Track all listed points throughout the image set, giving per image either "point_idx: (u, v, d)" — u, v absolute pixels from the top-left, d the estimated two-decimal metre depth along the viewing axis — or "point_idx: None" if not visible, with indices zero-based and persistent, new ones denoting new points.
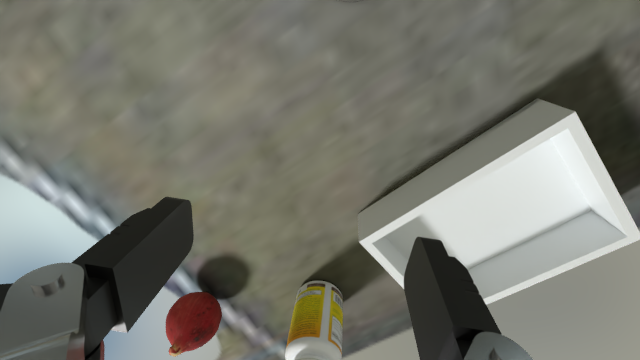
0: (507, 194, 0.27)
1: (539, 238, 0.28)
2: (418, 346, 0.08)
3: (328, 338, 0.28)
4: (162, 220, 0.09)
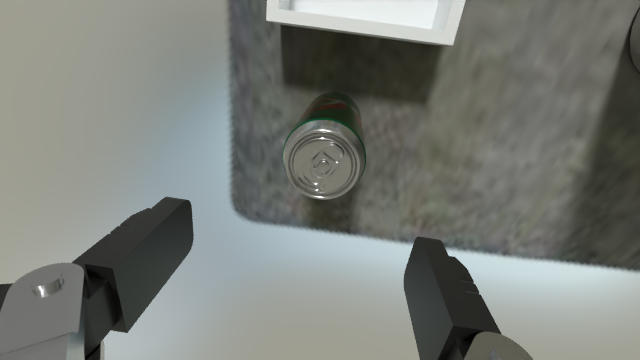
0: None
1: None
2: (418, 346, 0.08)
3: None
4: (162, 220, 0.09)
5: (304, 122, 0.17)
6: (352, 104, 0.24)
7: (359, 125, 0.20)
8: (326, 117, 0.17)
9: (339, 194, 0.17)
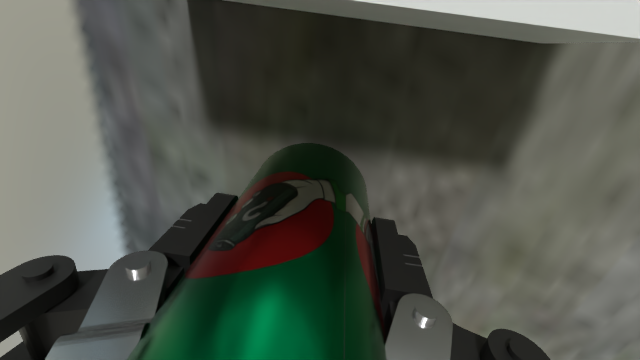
0: None
1: None
2: None
3: None
4: (220, 214, 0.09)
5: None
6: (349, 181, 0.10)
7: (372, 298, 0.06)
8: None
9: None
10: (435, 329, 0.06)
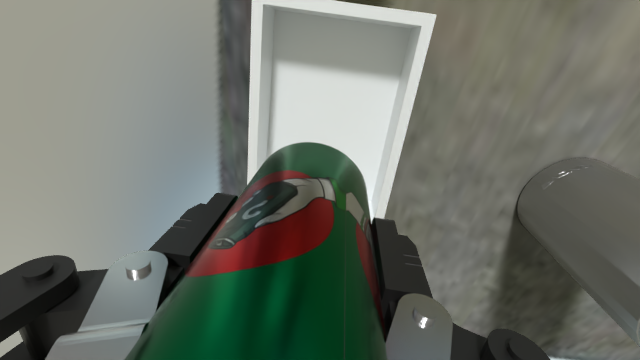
0: None
1: (267, 142, 0.29)
2: None
3: None
4: (220, 214, 0.09)
5: None
6: (350, 180, 0.10)
7: (372, 296, 0.06)
8: None
9: None
10: (435, 329, 0.06)
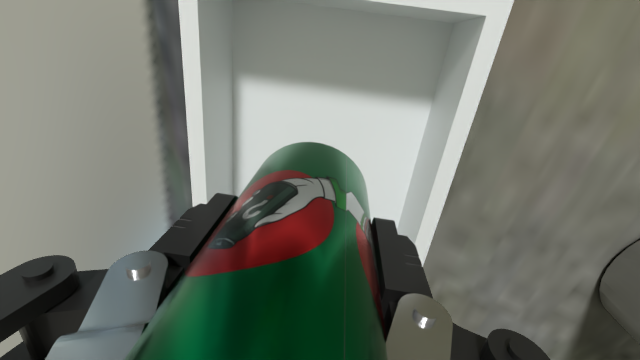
0: None
1: (231, 194, 0.20)
2: None
3: None
4: (220, 214, 0.09)
5: None
6: (350, 180, 0.10)
7: (372, 296, 0.06)
8: None
9: None
10: (435, 329, 0.06)
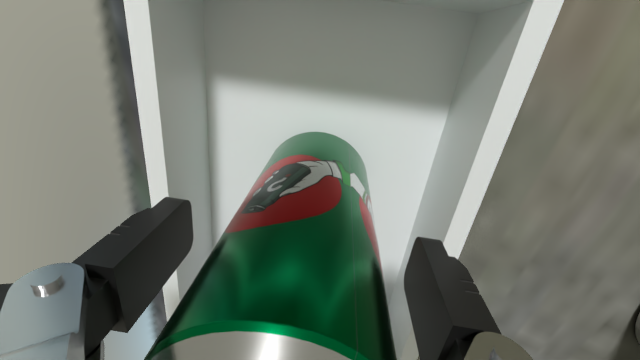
0: None
1: (208, 216, 0.17)
2: (418, 346, 0.08)
3: None
4: (162, 220, 0.09)
5: (190, 327, 0.05)
6: (352, 163, 0.12)
7: (373, 249, 0.08)
8: (268, 311, 0.05)
9: None
10: None
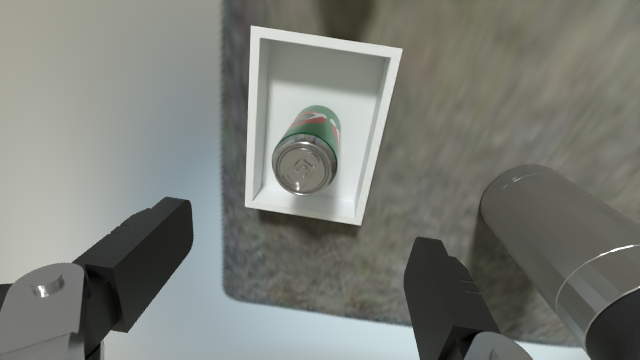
0: None
1: (263, 149, 0.34)
2: (418, 345, 0.08)
3: None
4: (162, 220, 0.09)
5: (289, 135, 0.22)
6: (332, 116, 0.29)
7: (335, 136, 0.25)
8: (306, 131, 0.22)
9: (316, 192, 0.22)
10: None
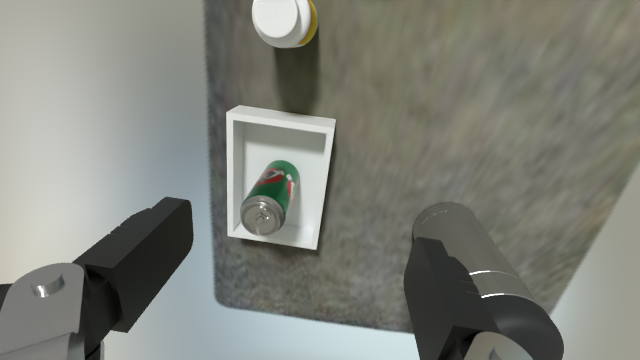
0: None
1: (241, 191, 0.44)
2: (418, 346, 0.08)
3: (288, 47, 0.29)
4: (162, 220, 0.09)
5: (250, 195, 0.32)
6: (290, 171, 0.39)
7: (287, 191, 0.35)
8: (262, 193, 0.31)
9: (270, 234, 0.32)
10: None
